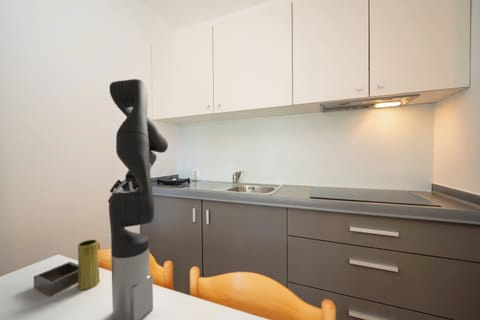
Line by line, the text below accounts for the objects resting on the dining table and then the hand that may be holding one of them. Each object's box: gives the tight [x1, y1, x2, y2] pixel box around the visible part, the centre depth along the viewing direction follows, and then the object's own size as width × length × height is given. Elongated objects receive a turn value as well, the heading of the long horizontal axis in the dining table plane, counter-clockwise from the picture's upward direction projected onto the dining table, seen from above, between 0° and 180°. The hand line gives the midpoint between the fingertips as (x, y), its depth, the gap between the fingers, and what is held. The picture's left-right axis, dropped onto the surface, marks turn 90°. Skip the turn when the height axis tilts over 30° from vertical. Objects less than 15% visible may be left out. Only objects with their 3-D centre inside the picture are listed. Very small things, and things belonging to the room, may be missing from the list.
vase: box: [77, 239, 101, 291], centre depth 69 cm, size 6×6×14 cm
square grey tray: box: [33, 261, 78, 298], centre depth 70 cm, size 10×10×4 cm
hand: (118, 204), depth 80 cm, fingers open, 8 cm apart
